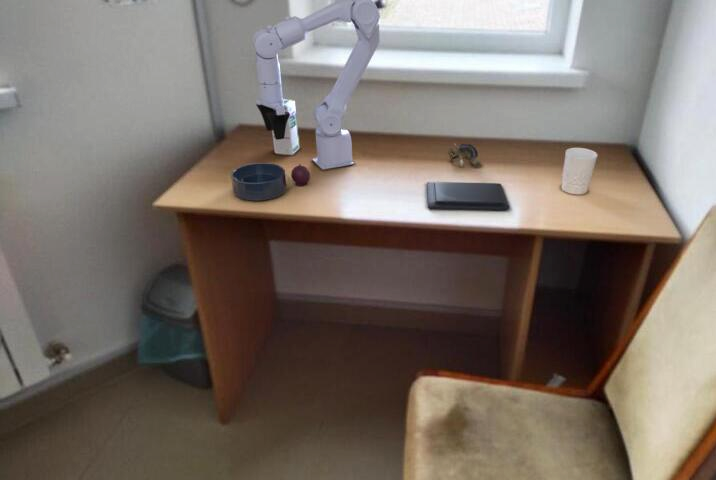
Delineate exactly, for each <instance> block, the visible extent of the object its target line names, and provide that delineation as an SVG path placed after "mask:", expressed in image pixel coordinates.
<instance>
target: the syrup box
mask: <svg viewBox="0 0 716 480" xmlns="http://www.w3.org/2000/svg"><path fill="white" fill-rule="evenodd" d="M283 99H284V108H285V112H289V113H290V116H289V118H288V121H287V124H286V129H285V136H284V139H279V140H276V138H275V136H274V132H273V130H271V134H272V140H273V141H272V144H273V150H274V151H273V152H274V154H277V155H285V156H293V155H295V154H296V152H298V150H300V149H301V146H300V135H299V128H298V127H299V126H298V118H297V117H298V116H297V109H296V101H295V100H294V99H288V98H283Z"/></svg>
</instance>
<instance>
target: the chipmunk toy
mask: <svg viewBox="0 0 716 480" xmlns="http://www.w3.org/2000/svg"><path fill="white" fill-rule="evenodd" d="M453 145H454V146H455V149H456V151H454V149H453V148H452V147H449V149H447V150H446V154H448V155H449V158H450V163H452V162H453V161H454V160H457V159H458V161H459V164H460V168H462V167H463V165H464V160H467V161H468V162H470V163H471V164H472V165H473V166H474V167H475V168H481V167H482V165H481V163H480V162H479V161H478V159H477V158H478V157H479V152H478V150H477V148H476V147H475V146H474V145H472V144H471V143H462V144H460V145H459V146H457V144H456V143H453Z"/></svg>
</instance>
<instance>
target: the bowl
mask: <svg viewBox="0 0 716 480" xmlns="http://www.w3.org/2000/svg"><path fill="white" fill-rule="evenodd" d="M286 177H287V176H286V170H285V169H284V167H283V166H280V165H278V164H275V163H269V162H254V163H248V164H244V165H241V166H238V167H237V168H235V169H233V170H232V171H231V172H230V180H231V186H232V191H233V194H234V195H235V197H238V198H240V199H242V200H245V201H266V200H271V199H275V198H277V197H280V196H281V195H283V194H285V192H286V191H287V189H288V188H287V187H288V185H287V178H286Z"/></svg>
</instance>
